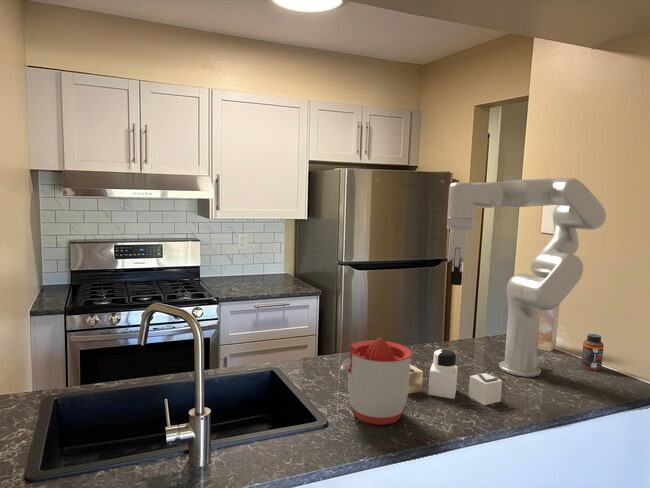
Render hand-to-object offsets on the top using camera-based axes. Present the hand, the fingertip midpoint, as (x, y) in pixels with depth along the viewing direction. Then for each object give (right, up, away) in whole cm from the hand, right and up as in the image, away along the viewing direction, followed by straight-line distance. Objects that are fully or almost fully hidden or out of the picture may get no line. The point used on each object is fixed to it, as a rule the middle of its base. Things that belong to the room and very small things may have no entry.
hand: (456, 284), depth 144 cm
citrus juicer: (-27, -31, -24) cm, 48 cm away
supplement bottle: (+50, -30, +16) cm, 60 cm away
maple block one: (-16, -30, -7) cm, 34 cm away
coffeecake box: (+40, -27, +39) cm, 62 cm away
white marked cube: (+5, -31, -12) cm, 33 cm away
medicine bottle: (-6, -30, -9) cm, 32 cm away
